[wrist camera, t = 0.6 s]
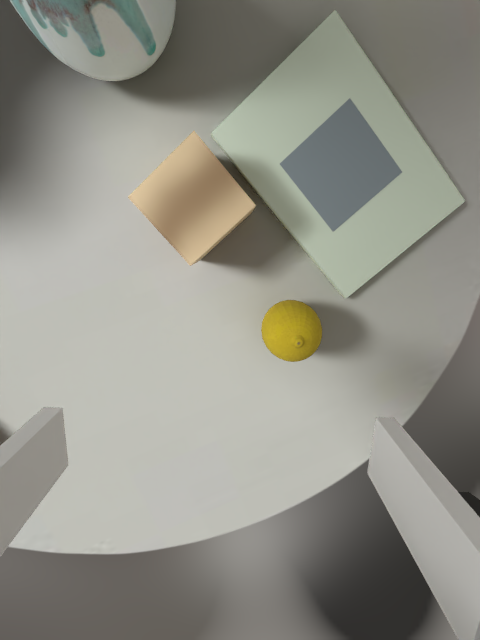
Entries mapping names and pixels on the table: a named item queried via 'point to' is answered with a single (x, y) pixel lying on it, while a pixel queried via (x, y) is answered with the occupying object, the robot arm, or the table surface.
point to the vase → (101, 33)
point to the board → (338, 158)
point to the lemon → (291, 330)
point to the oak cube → (192, 199)
